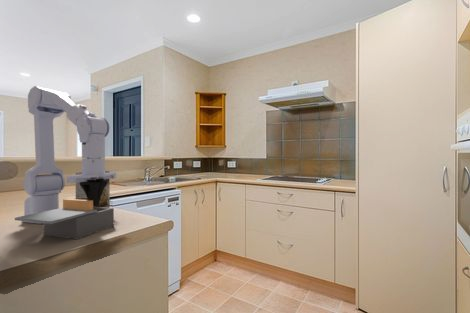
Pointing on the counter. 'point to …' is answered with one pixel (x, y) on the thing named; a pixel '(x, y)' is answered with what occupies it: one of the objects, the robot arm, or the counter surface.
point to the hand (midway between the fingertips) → (94, 205)
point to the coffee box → (104, 197)
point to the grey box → (82, 224)
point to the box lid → (61, 212)
